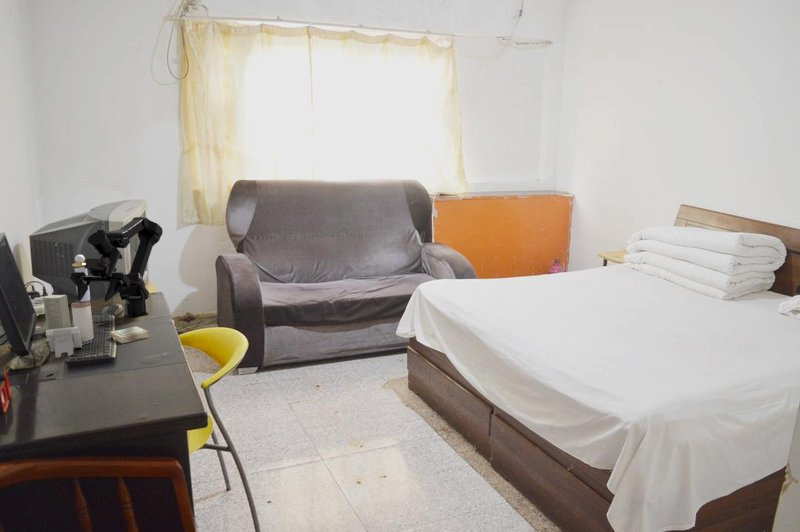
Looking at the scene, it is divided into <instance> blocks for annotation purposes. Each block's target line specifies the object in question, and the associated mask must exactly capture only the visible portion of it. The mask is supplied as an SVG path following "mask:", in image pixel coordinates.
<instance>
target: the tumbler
mask: <svg viewBox="0 0 800 532" xmlns="http://www.w3.org/2000/svg"><path fill="white" fill-rule="evenodd" d="M70 305H71V306H70V307H71V313H72V321H73V322H72V324H73V327H79V331H80V337H81V341H88V340H91V339H93V338H94V339H95V334H94V326H93V324H94V323H93V317H92V316H93V315H92V307H91V301H90V300H89V301H76V302H72V303H71V304H70Z"/></svg>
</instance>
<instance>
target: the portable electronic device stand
mask: <svg viewBox="0 0 800 532" xmlns="http://www.w3.org/2000/svg"><path fill="white" fill-rule="evenodd" d="M45 336H46V338H47V341H48V346H49V350H50V353H55V354H54V355H55V358H61V356H62V354H63V353H67V356H68V357H71V356H70V355H72V354H73V355H74V349H73V347H82V345H83V346H84V344H82V341H81V337H80V331H79V327H74V326H73V327H72V326H71V327H70V328H60V329H50V330H48V329H46V330H45Z"/></svg>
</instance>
